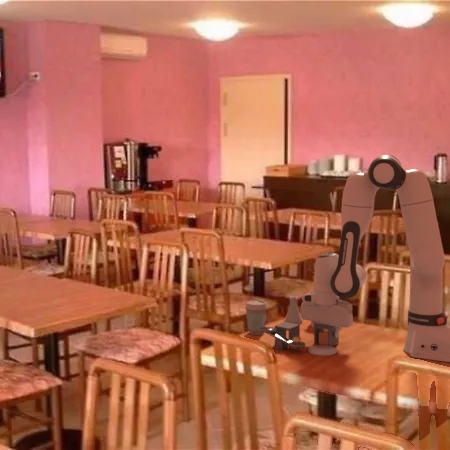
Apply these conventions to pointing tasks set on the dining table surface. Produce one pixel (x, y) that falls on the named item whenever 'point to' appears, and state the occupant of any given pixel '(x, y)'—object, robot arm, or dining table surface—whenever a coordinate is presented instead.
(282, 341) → the balance
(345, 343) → the dining table surface
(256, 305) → the coffee cup
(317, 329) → the hood
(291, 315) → the flask
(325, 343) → the block
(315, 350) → the saucer
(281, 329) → the hood
